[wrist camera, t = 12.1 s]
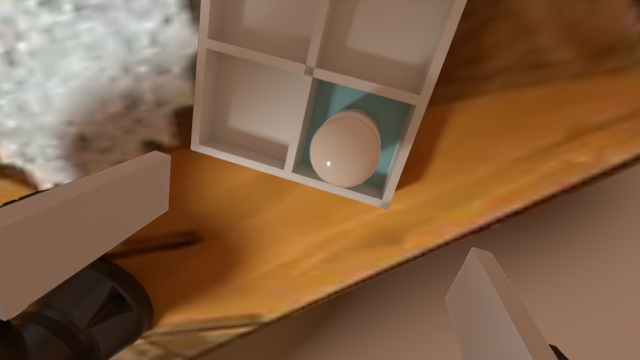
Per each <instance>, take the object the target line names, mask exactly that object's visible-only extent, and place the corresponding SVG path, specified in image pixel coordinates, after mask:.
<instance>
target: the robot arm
mask: <svg viewBox="0 0 640 360" xmlns="http://www.w3.org/2000/svg"><path fill="white" fill-rule="evenodd" d="M170 167H171V155H168V154H165V153H161V152H158V151H152V152H150V153H147V154H144V155H142V156H139V157H136V158H134V159H131V160H128V161H125V162H123V163H120V164H117V165H115V166H112V167H109V168H107V169H104V170H101V171H99V172H96V173H93V174H90V175H88V176H85V177H82V178H80V179H77V180H74V181H72V182H69V183H66V184H64V185H61V186H58V187H56V188H52V189H47V190H41V191H37V192H34V193H31V194H28V195H26V196H23V197H20V198H19V199H18V200H12V201H9V202H6V203H3V205H2V206H0V360H109V359H111V358H112V357H114V356H115V355H117V354H118V353H120V352H121V351H123V350H124V349H126V348H127V347H129V346H131V345H132V344H134V343H135V342H136V341H137V340H138V339H139V338H140V337H141V336H142V335H143V334H144V333H145V331H146V330H147V329H148V328H149V326H150V324H151V321H152V308H151V304H150V301H149V299H148V297H147V295H146V293H145V291H144V290H143V289H142V287H141V286H140V285H139V284H138V282H137V281H136V280H135V279H134V278H133V277H132V276H130V275H129V274H128V273H127V272H125V271H124V270H123V269H121V268H120V267H118V266H116V265H114V264H112V263H110V262H107V261H105V260H101V259H97V258H99V257H100V256H101V255H103V254H104V253H106V252H107V251H109V250H110V249H112V248H113V247H115V246H116V245H118V244H119V243H121V242H122V241H124V240H125V239H126V238H128V237H129V236H131V235H132V234H134V233H135V232H137V231H138V230H140V229H141V228H143V227H144V226H146V225H147V224H148V223H150V222H151V221H153V220H154V219H156V218H157V217H159V216H160V215H162V214H163V213H165V212H166V211H168V208H169V187H170ZM445 300H446V303H447V306H448V310H449V313H450V316H451V319H452V323H453V326H454V330H455V333H456V336H457V340H458V343H459V347H460V350H461V353H462V357H463V360H568V358H567V357H566V356H565V355H563V353H562V352H561V351H560V350H559V349H558V348H557V347H556V346H553V345H550V344H548V343H547V341H546V339H545V338H544V336H543V335H542V333H541V332H540V330H539V328H538V327H537V325H536V324H535V322H534V320H533V319H532V317H531V315H530V314H529V312H528V311H527V309H526V307H525V306H524V304H523V303H522V301H521V299H520V298H519V296H518V294H517V293H516V292H515V290H514V288H513V286H512V285H511V283H510V282H509V280H508V279H507V277H506V275H505V274H504V272H503V270H502V269H501V267H500V266H499V264H498V262H497V261H496V259H495V258H494V256H493V254H492V253H491V252H487V251H484V250H481V249H477V248H474V247H472V249H471V251H470V252H469V254H468V256H467V258H466V260H465V262H464V264H463V265H462V267H461V269H460V271H459V273H458V275H457V277H456V278H455V280H454V282H453V284H452V286H451V288H450V290H449V292H448V293H447V295H446V297H445ZM25 307H27V308H26V309H25V310H23V311H22V312H21V313H19V314H18V315H16V316H15V317H13V318H12V319H10V320H9V318H10V317H12V316H13V315H15V314H16V313H18V312H19V311H21V310H22V309H24V308H25Z"/></svg>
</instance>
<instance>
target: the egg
mask: <svg viewBox="0 0 640 360" xmlns="http://www.w3.org/2000/svg"><path fill="white" fill-rule="evenodd" d="M380 154H381V133H380V128H379V125H378V122H377V121H376V119H375V118H374V117H373V116H372V115H371V114H370V113H369V112H367V111H366V110H364V109H361V108H357V107H348V108H344V109H341V110H339V111H337V112H336V113H334V114H333V115H332V116H331V117H330V118H329V119H328V120H327V121H326V122H325V123H324V124H323V125H322V126H321V127H320V128H319V129H318V130H317V131H316V133H315V135H314V136H313V139H312V141H311V145H310V159H311V163H312V166H313V168H314V170H315V171H316V173H317V174H318V175H319V177H320V178H322V179H323V180H324V181H325V182H327V183H329V184H331V185H333V186H337V187H353V186H356V185H359V184H361V183H363V182H365V181H366V180H367V179H368V178H369V177H370V176H371V175H372V174H373V173H374V172H375V170H376V168H377V166H378V164H379V160H380Z"/></svg>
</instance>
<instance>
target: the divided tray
mask: <svg viewBox="0 0 640 360" xmlns="http://www.w3.org/2000/svg"><path fill="white" fill-rule="evenodd" d="M466 2H467V0H201V11H200V25H199V39H198V53H197V67H196V81H195V95H194V109H193V123H192V137H191V150H194V151H197V152H200V153H203V154H207V155H210V156H213V157H216V158H220V159H223V160H226V161H230V162H233V163H236V164H239V165H243V166H246V167H249V168H252V169H256V170H259V171H262V172H266V173H269V174H272V175H275V176H279V177H282V178H285V179H288V180H292V181H295V182H298V183H302V184H305V185H308V186H311V187H315V188H318V189H321V190H324V191H328V192H331V193H334V194H338V195H341V196H344V197H347V198H351V199H354V200H357V201H361V202H364V203H367V204H370V205H374V206H377V207H380V208H383V209H387V210H388V207H389V205H390V202H391V200H392V197H393V194H394V192H395V189H396V186H397V184H398V181H399V179H400V176H401V173H402V171H403V168H404V165H405V163H406V160H407V157H408V155H409V152H410V150H411V147H412V144H413V142H414V139H415V136H416V134H417V131H418V128H419V126H420V123H421V121H422V118H423V115H424V113H425V110H426V107H427V105H428V102H429V99H430V97H431V94H432V92H433V89H434V86H435V84H436V81H437V78H438V76H439V73H440V71H441V68H442V65H443V63H444V60H445V57H446V55H447V52H448V49H449V47H450V44H451V42H452V39H453V36H454V34H455V31H456V28H457V26H458V23H459V20H460V18H461V15H462V13H463V10H464V7H465V5H466ZM348 107H357V108H361V109H364V110H366V111H367V112H369V113H370V114H371V115H372V116H373V117H374V118H375V119H376V121H377V122H378V125H379V128H380V133H381V154H380V160H379V164H378V166H377V168H376V170H375V172H374V173H373V174H372V175H371V176H370V177H369V178H368V179H367V180H366V181H365V182H363V183H361V184H359V185H356V186H353V187H337V186H333V185H331V184H329V183H327V182H325V181H324V180H323V179H322V178H320V177H319V175H318V174H317V173H316V171H315V170H314V168H313V166H312V163H311V159H310V145H311V141H312V139H313V136H314V135H315V133H316V131H317V130H318V129H319V128H320V127H321V126H322V125H323V124H324V123H325V122H326V121H327V120H328V119H329V118H330V117H331V116H332V115H333V114H334V113H336V112H337V111H339V110H341V109H344V108H348Z"/></svg>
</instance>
